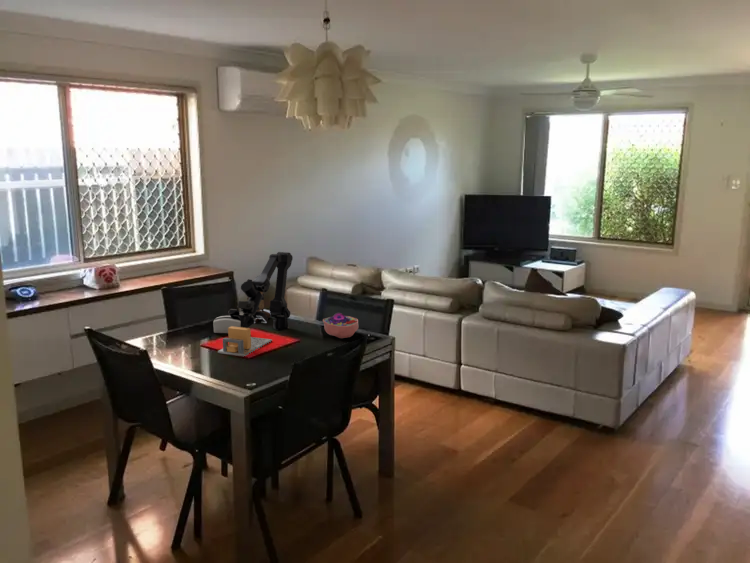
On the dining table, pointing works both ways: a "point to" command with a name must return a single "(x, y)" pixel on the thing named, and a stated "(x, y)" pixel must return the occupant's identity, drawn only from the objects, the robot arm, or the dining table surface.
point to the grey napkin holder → (225, 324)
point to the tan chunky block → (239, 337)
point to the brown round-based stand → (262, 308)
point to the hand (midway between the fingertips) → (241, 331)
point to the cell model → (340, 325)
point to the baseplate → (253, 347)
